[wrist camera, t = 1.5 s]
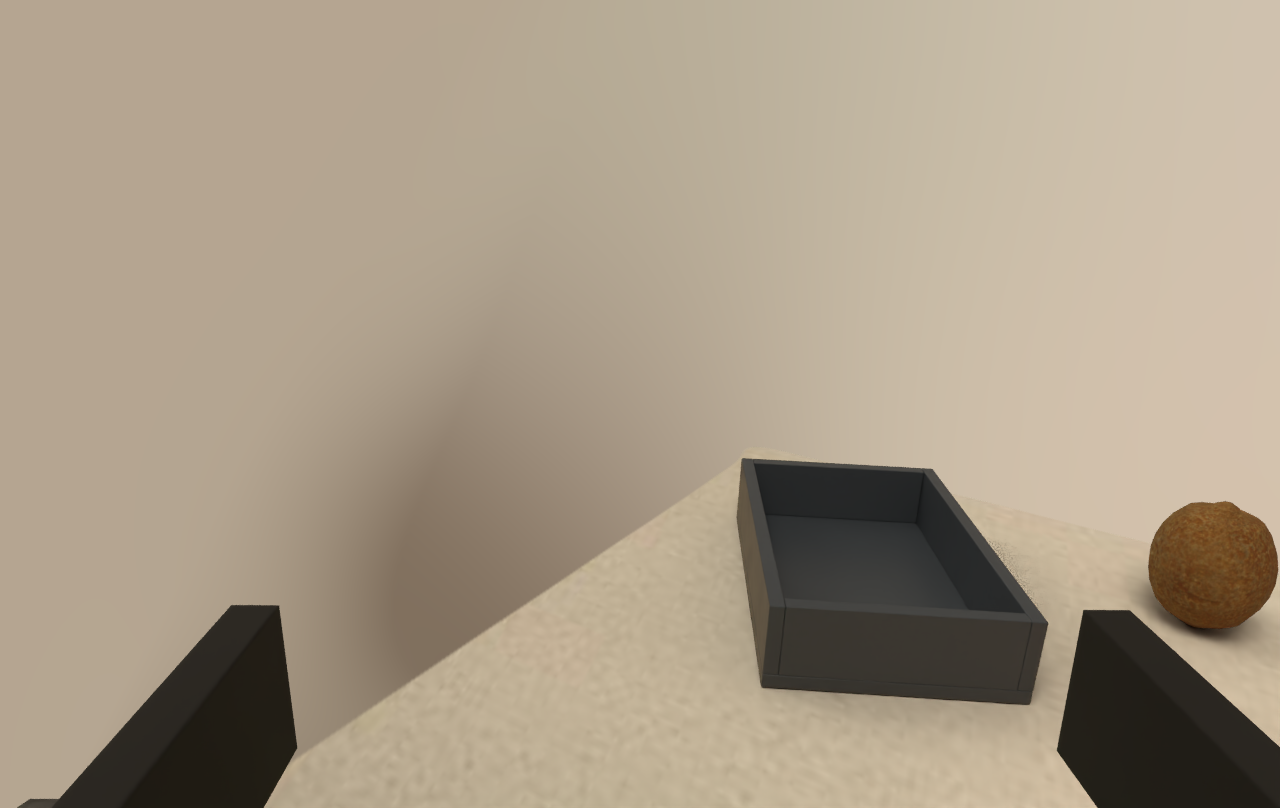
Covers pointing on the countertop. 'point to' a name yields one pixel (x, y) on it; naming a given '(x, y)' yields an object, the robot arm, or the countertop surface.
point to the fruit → (1212, 565)
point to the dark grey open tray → (879, 586)
